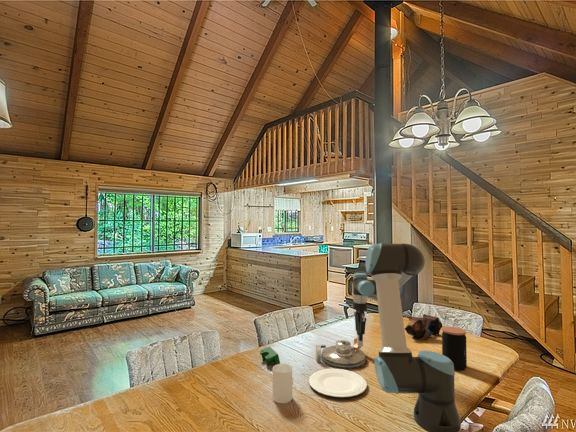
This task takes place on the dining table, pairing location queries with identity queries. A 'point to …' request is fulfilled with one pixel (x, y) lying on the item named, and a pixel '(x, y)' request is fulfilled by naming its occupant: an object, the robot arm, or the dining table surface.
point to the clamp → (269, 356)
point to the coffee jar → (455, 346)
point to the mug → (282, 383)
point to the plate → (337, 383)
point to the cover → (343, 348)
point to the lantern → (423, 326)
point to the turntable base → (319, 358)
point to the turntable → (356, 357)
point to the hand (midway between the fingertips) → (360, 346)
